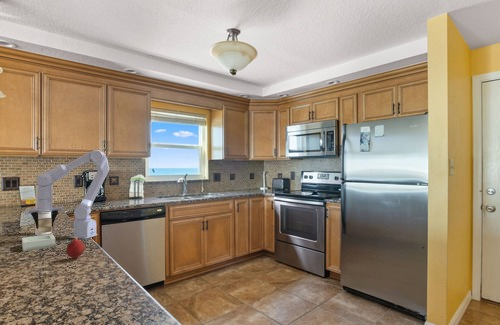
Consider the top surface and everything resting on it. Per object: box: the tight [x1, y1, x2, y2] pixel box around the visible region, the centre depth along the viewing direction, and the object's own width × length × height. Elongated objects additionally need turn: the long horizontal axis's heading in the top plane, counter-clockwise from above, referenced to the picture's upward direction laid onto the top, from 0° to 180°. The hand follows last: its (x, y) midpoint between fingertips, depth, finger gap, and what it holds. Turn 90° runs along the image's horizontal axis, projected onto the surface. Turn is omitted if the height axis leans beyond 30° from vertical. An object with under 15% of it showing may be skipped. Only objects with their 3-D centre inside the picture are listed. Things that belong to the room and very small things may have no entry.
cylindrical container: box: [34, 185, 54, 236], centre depth 147 cm, size 7×7×25 cm
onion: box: [65, 237, 86, 260], centre depth 105 cm, size 6×6×8 cm
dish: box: [21, 233, 56, 252], centre depth 122 cm, size 11×11×4 cm
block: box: [38, 218, 53, 233], centre depth 133 cm, size 5×5×6 cm
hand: (44, 227), depth 133 cm, fingers closed on block, 5 cm apart
